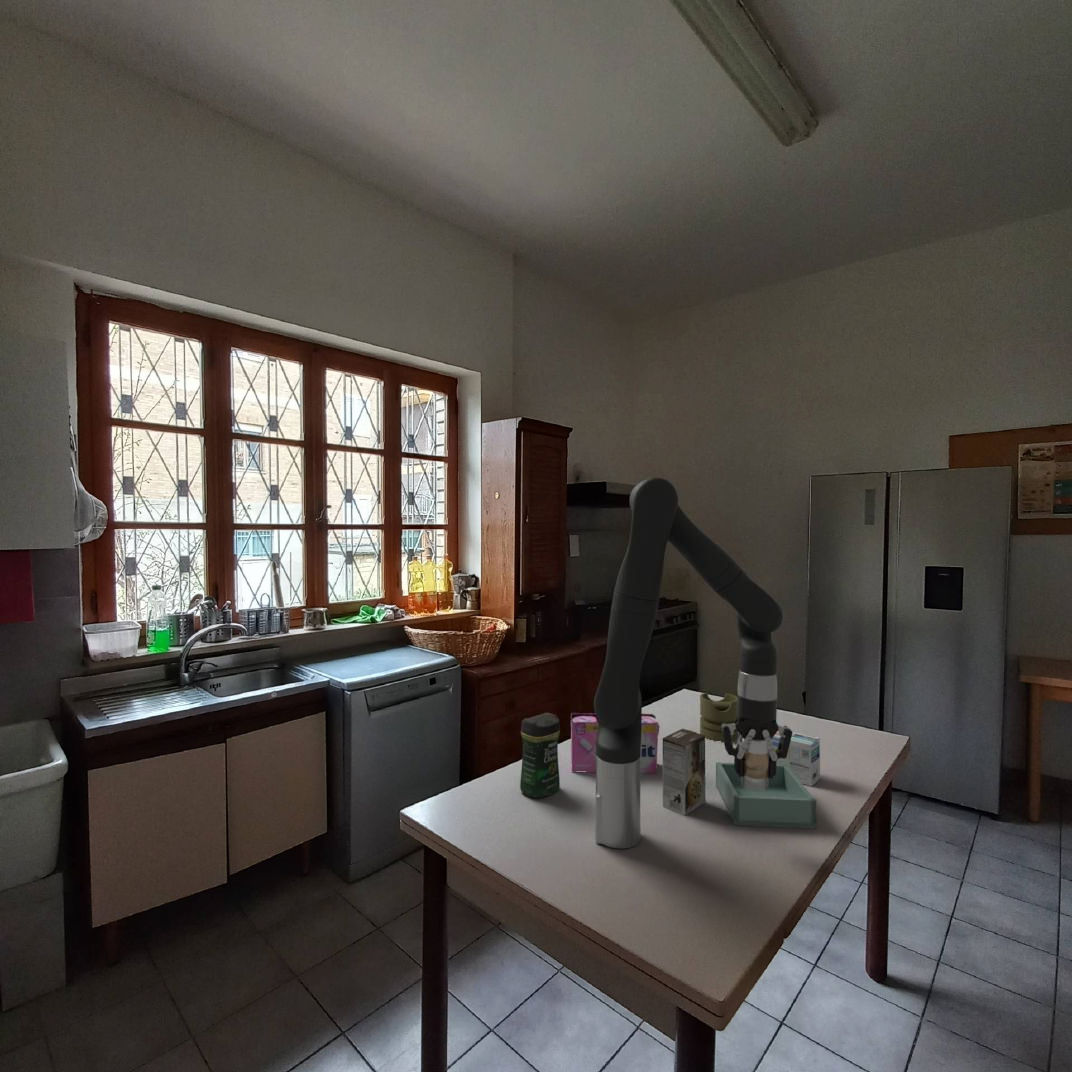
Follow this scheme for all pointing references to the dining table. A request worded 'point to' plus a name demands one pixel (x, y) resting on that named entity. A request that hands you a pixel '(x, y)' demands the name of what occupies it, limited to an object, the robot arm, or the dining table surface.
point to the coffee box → (683, 771)
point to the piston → (717, 716)
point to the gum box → (586, 735)
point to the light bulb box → (802, 757)
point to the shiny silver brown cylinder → (756, 765)
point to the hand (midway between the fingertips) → (754, 775)
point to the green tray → (767, 799)
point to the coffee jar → (540, 755)
